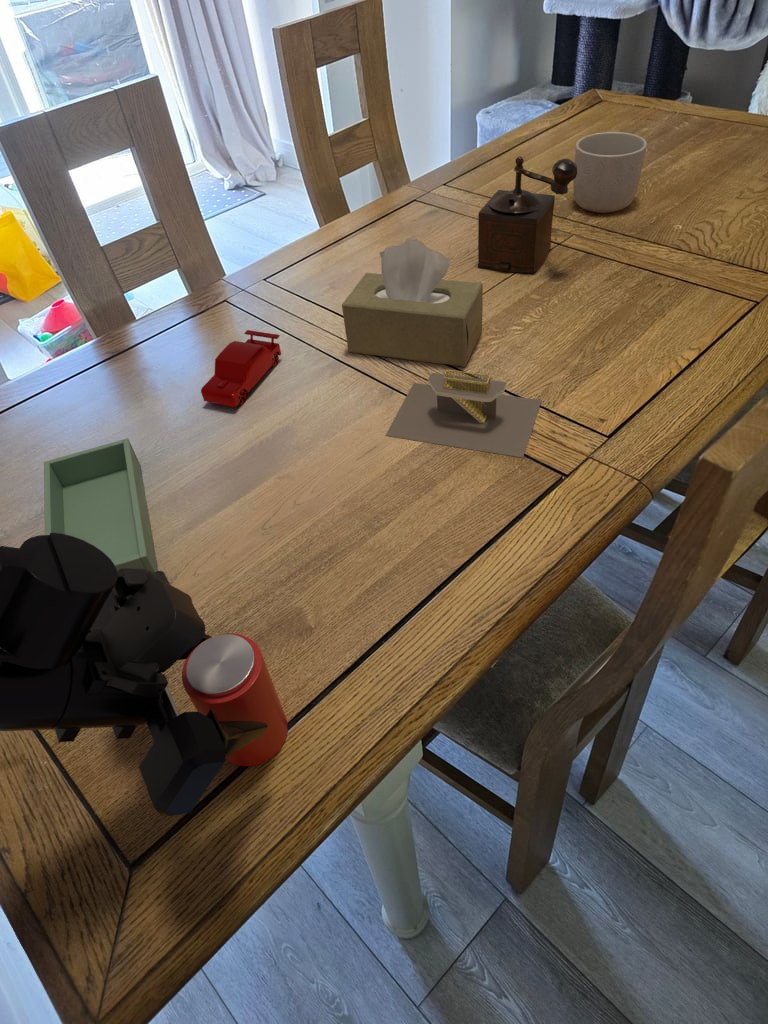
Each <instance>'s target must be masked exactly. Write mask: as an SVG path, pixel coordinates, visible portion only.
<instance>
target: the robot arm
mask: <svg viewBox="0 0 768 1024" xmlns="http://www.w3.org/2000/svg"><path fill="white" fill-rule="evenodd" d="M211 637H212V636H211V635H209V634H207V633H206V624H205V622H204V620H203V619H202V617H201V616H200V614H199V613H198V611H197V609H196V607H195V605H194V603H193V599H192V597H191V596H190V595H189V594H188V593H186V592H185V591H182V590H181V589H178V588H177V587H175V586H173V585H172V584H171V583H170V581H169V579H168V577H167V575H166V574H165V572H164V571H163V570H158V571H157V572H155V573H153V572H152V571H148V570H146V569H131V568H121V569H120V570H119V571H118V572H117V569H116V567H115V565H114V563H113V562H112V561H111V559H110V558H109V557H108V556H107V555H106V554H105V553H103V552H102V551H101V550H99V549H98V548H97V547H95V546H94V545H92V544H90V543H88V542H86V541H84V540H81V539H79V538H76V537H73V536H70V535H65V534H61V533H50V534H49V535H45V534H39V535H34V536H31V537H29V538H28V539H26V540H24V541H23V542H22V543H21V545H20V546H19V547H14V546H13V547H12V546H6V545H0V732H21V731H23V732H24V731H46V730H49V731H51V730H52V731H53V730H54V731H55V734H56V738H57V741H58V743H69V742H75V740H76V738H77V736H78V735H79V733H80V731H81V729H97V728H98V729H100V728H101V729H102V728H112V731H113V734H114V736H115V738H116V740H125V739H126V740H129V739H130V738H131V737H132V735H133V733H134V732H135V730H136V728H137V727H138V726H143V725H145V724H146V725H147V727H148V730H149V733H150V735H151V737H152V741H153V743H152V744H151V746H150V748H149V750H148V751H147V752H146V755H144V758H143V759H142V760H141V762H140V764H139V765H138V769H139V771H140V774H141V777H142V779H143V782H144V784H145V788H146V790H147V792H148V795H149V799H150V802H151V804H152V807H153V809H154V810H155V811H156V812H157V813H158V814H159V816H165V817H174V816H180V815H186V814H191V813H192V812H193V810H194V809H195V807H196V806H197V804H198V803H199V802H200V800H201V799H202V797H203V795H205V793H206V791H207V789H208V788H209V786H210V785H211V784H212V782H213V781H214V779H215V778H216V777H217V775H218V773H219V771H220V770H221V769H222V767H223V766H224V764H225V763H226V760H227V759H226V758H227V757H229V756H230V755H232V754H233V753H235V752H237V751H238V750H240V749H241V748H243V747H245V746H246V745H248V744H249V743H251V742H253V741H254V740H256V739H257V738H259V737H260V736H262V735H263V734H264V732H265V731H266V730H267V728H268V725H267V724H266V723H265V722H258V721H219V720H218V718H217V716H216V714H215V713H214V711H213V710H212V709H210V711H209V712H208V714H207V715H206V716H205V715H203V714H201V713H200V712H198V711H184V712H182V713H180V712H179V710H178V707H177V705H176V703H175V700H174V698H173V695H172V693H171V691H170V689H169V687H168V686H169V681H168V678H167V677H166V675H165V672H166V671H168V670H169V669H171V667H172V666H173V665H174V664H175V663H176V662H177V661H183V660H186V659H187V658H188V656H189V655H190V653H191V652H192V651H193V650H194V649H195V648H196V647H197V646H198V645H199V644H201V643H202V642H204V641H205V640H207V639H209V638H211Z"/></svg>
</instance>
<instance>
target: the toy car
mask: <svg viewBox="0 0 768 1024" xmlns="http://www.w3.org/2000/svg"><path fill="white" fill-rule="evenodd" d="M244 335H248V336H250V338H249V339H246V341H239V340H233V341H231V342H229V343H228V344H227V345H226V346H225V347H224V348H223V349H222V350H221V351H220V352H219V354H218V355H217V356H216V357H215V359H214V374H213V375H212V377H210V379H209V380H208V381H207V382H206V383H205V384H203V386H202V387H201V389H200V393H201V397H202V399H203V402H206V403H212V404H217V405H223V406H226V407H227V406H228V407H232V408H236V407H237V406H238V405H240V406H241V405H243V404H244V403H245V402H246V398H247V393H249V392H250V391H251V390H252V389H253V388H254V387H255V386H256V384H257V383H258V382H259V381H260V379H262V377H264V375H265V374H266V373H267V371H268V370H269V369H270V368H271V367H276V366H277V365H278V364H279V359H280V356H281V355H282V350H281V347H280V343H278V342H275V340H277V339H280V334H278V333H277V334H276V333H270V332H263V331H257V330H249V329H247V330H246V331H245V332H244ZM254 337H261V338H268V339H271V341H265V340H260V339H254Z"/></svg>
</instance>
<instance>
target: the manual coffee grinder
mask: <svg viewBox="0 0 768 1024" xmlns="http://www.w3.org/2000/svg"><path fill="white" fill-rule="evenodd" d="M514 162H515V166H514V168H513V171H514V172H515V184H514V189H511V190H504V189H498V190H497V191H495V193H494V194H493V196H491V198H490V199H489V200H488V201H487V202H486V203H485V204H484V206H483V207H482V208H481V209H480V210H479V212H478V215H477V219H478V222H477V223H478V225H477V228H478V230H477V231H478V232H477V234H478V236H477V246H478V247H477V252H478V253H477V254H478V255H477V257H478V259H477V261H478V262H477V267H478V268H482V269H489V270H495V271H500V272H508V273H509V272H513V273H522V274H523V273H524V274H526V273H527V274H529V273H530V274H534V273H536V272H537V271H538V270H539V269H540V268H541V267H542V265H543V263H544V262H545V261H546V259H547V257H548V255H549V252H550V249H551V247H552V229H553V220H554V211H555V210H554V208H555V198H556V195H560V196H561V195H565V194H568V191H569V187H568V186H569V184H570V183H571V182H572V181H573V179H575V178H576V175H577V165H576V164H575V163H574V162H575V161H573V160H572V159H569V158H561V159H558V160H557V161H556V162H555V163H554V165H553V166H552V170H551V171H552V175H553V178H554V179H553V178H552V177H549V176H547V175H543V174H540V173H536V172H533V171H530V170H527V169H525V168H524V162H525V160H524V158H523V157H522V156H517V157H516V158H515V161H514ZM522 175H523V176H525V177H527V178H530V179H532V180H536V181H539V182H542V183H546V184H548V185H550V190H551V192H553V193H554V194H555V195H554V194H547V193H538V192H537V193H536V192H531V191H529V190H525V189H522Z"/></svg>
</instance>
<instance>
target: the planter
mask: <svg viewBox="0 0 768 1024" xmlns="http://www.w3.org/2000/svg"><path fill="white" fill-rule="evenodd" d="M647 147H648V141H646V139H644V138H643V137H642V136H640V135H637V134H635V133H631V132H624V131H622V132H621V131H603V132H597V133H596V132H595V133H593V134H588V135H585V136H583V137H581V138H579V139H578V140H577V141H576V143H575V151H574V161H573V162H574V163H575V164H576V165H577V175H576V178H575V179H573V180H572V181H573V183H572V186H573V187H572V188H573V191H572V193H573V199H574V201H575V203H576V204H577V205H578V207H580V209H581V208H582V209H583V210H586V211H588V212H592V213H601V214H605V213H606V214H607V213H613V212H618V211H622V210H624V209H625V208H627V207H628V206H629V205H631V203H633V201H634V199H635V197H636V194H637V191H638V189H639V185H640V181H641V176H642V172H643V168H644V163H645V157H646V151H647Z"/></svg>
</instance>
